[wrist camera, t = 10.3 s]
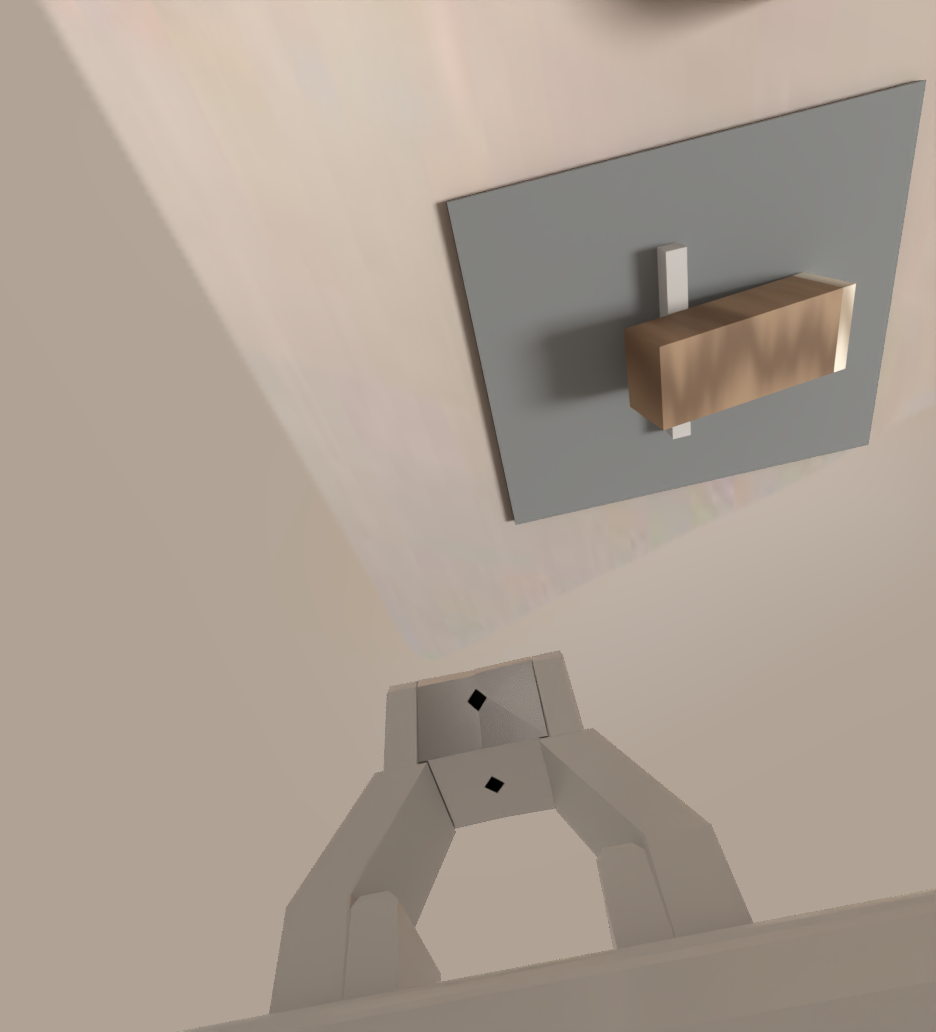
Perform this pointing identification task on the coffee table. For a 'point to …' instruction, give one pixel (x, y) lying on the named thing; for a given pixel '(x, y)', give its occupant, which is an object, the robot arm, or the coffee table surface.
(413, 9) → the coffee table surface
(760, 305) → the walnut block
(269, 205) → the coffee table surface
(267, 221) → the coffee table surface
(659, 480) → the slate mat
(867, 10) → the coffee table surface
